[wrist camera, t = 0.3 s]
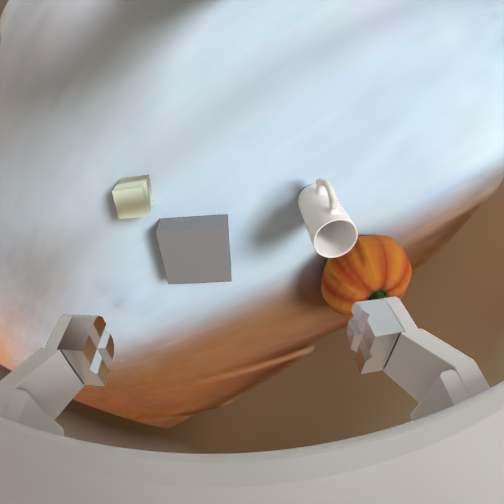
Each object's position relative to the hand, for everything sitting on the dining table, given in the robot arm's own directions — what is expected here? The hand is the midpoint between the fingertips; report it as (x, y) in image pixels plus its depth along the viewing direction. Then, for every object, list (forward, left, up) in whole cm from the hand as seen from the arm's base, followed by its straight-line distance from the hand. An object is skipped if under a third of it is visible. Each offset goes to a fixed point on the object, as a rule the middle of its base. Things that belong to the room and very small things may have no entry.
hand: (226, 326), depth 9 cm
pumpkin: (+32, +27, -39) cm, 57 cm away
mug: (+15, +15, -39) cm, 44 cm away
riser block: (+25, -6, -39) cm, 47 cm away
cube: (+13, -15, -39) cm, 44 cm away
